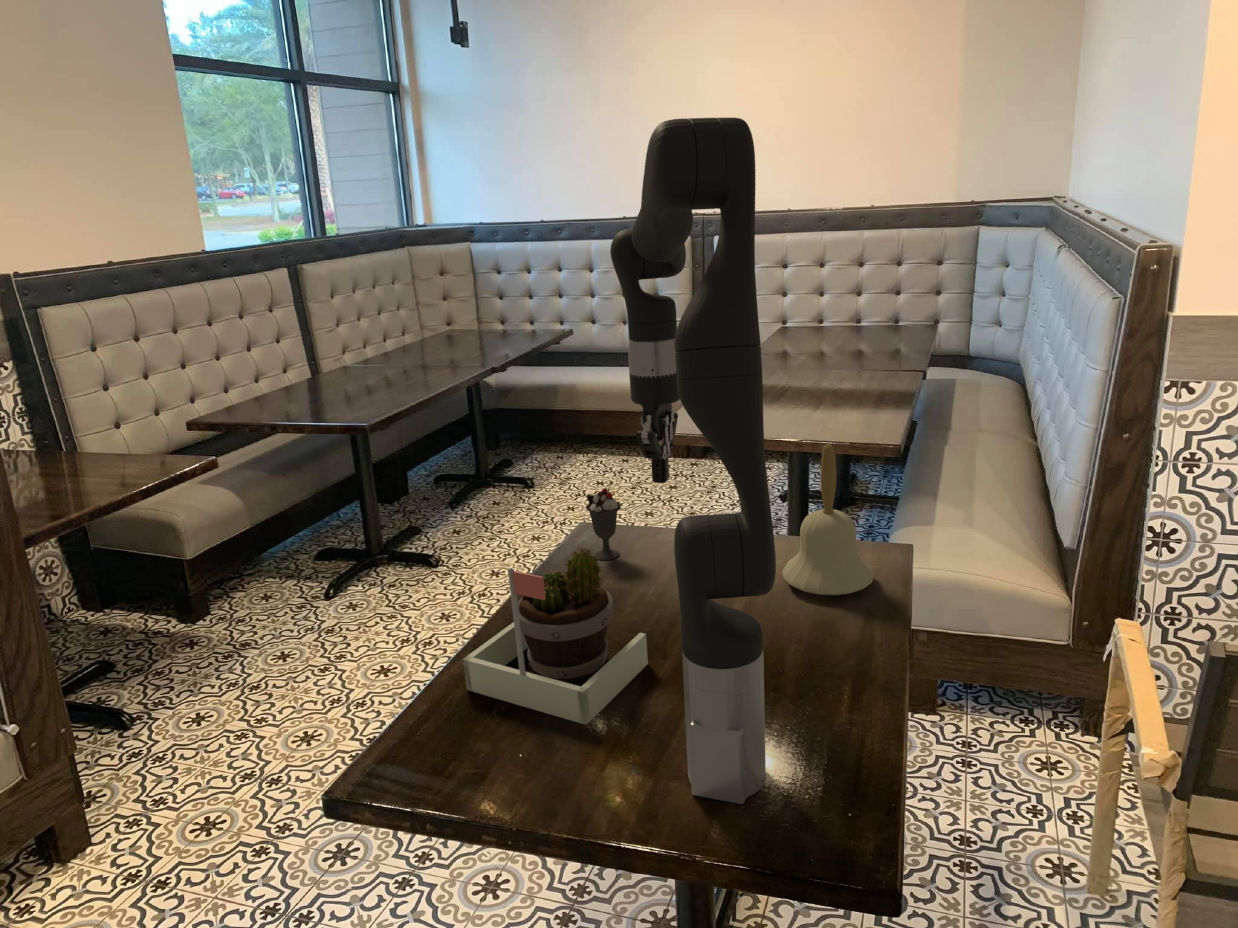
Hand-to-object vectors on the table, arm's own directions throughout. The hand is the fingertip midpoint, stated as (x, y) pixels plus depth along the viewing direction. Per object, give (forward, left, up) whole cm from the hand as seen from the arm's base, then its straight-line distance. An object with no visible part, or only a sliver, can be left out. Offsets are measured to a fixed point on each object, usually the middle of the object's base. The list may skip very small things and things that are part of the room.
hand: (660, 481), depth 136 cm
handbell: (+21, -22, -25) cm, 39 cm away
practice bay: (-18, +11, -25) cm, 32 cm away
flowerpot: (-15, +11, -25) cm, 31 cm away
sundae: (+24, +20, -25) cm, 40 cm away
